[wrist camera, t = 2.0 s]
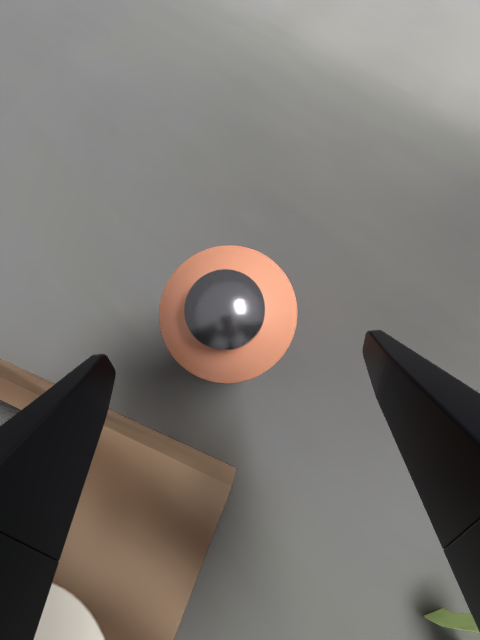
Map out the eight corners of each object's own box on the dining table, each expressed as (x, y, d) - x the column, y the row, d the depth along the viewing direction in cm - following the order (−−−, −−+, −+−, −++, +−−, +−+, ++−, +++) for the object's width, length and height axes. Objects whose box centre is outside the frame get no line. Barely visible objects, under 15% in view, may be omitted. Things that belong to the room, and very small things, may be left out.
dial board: (105, 812, 16) (70, 911, 13) (-158, 634, 18) (-234, 684, 15) (236, 468, 18) (231, 489, 15) (-19, 350, 20) (-64, 349, 17)
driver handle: (265, 379, 18) (267, 409, 8) (204, 354, 19) (128, 350, 8) (289, 317, 19) (321, 265, 8) (228, 294, 19) (185, 218, 9)
